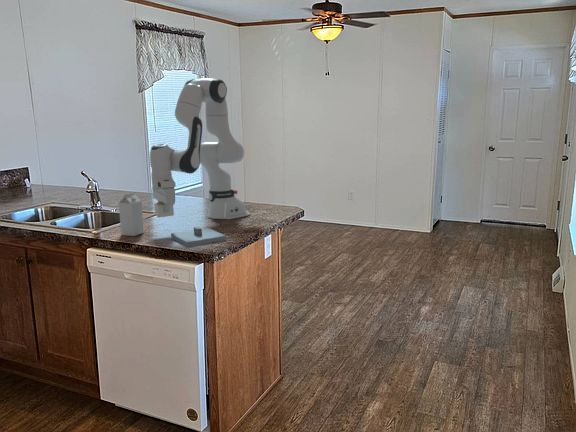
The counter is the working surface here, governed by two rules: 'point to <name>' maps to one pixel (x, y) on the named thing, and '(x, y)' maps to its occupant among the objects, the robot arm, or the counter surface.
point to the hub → (198, 236)
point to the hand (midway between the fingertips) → (164, 211)
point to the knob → (162, 210)
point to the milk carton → (131, 215)
